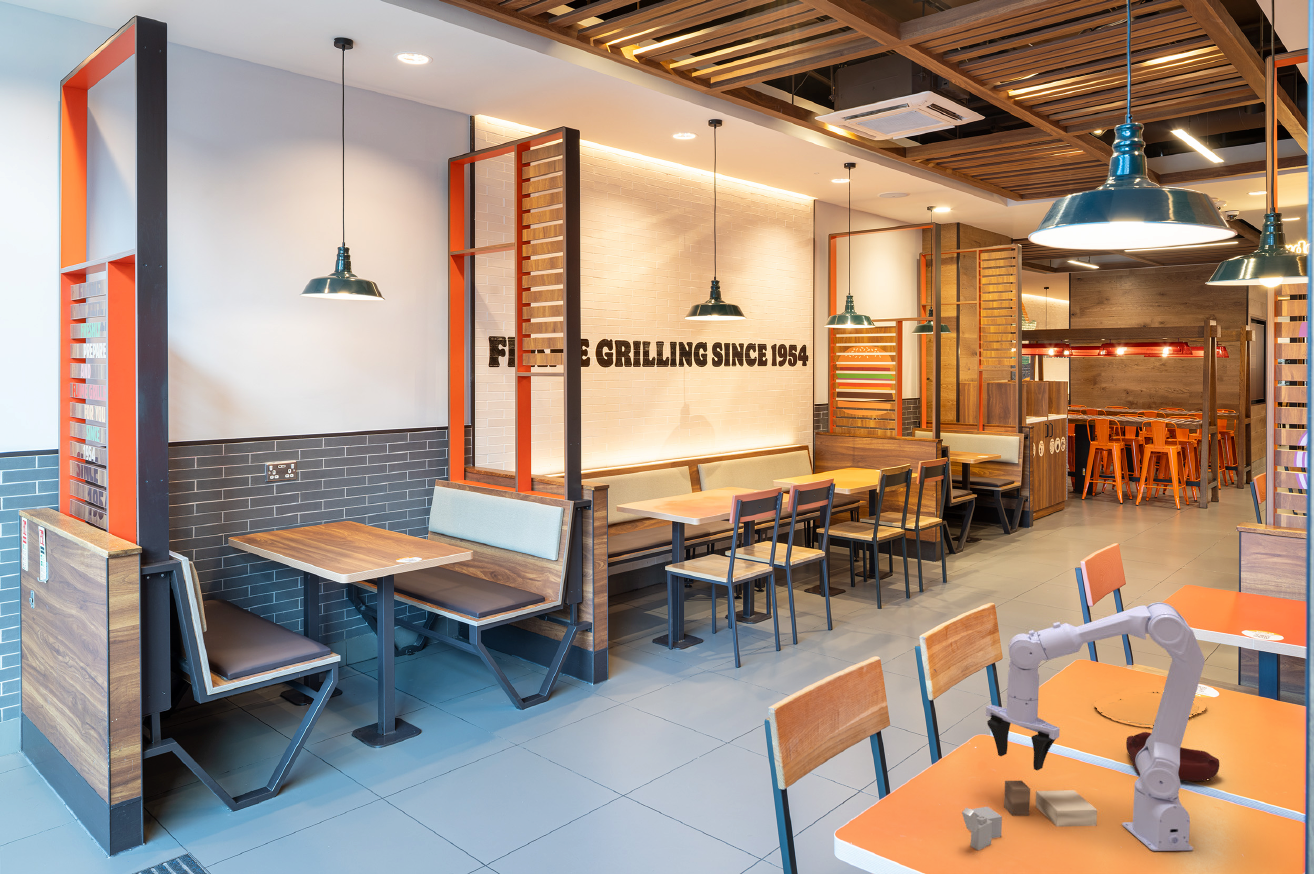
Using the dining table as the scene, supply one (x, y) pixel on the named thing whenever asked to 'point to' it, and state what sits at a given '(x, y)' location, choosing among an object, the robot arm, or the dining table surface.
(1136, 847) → the dining table surface
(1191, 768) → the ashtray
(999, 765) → the dining table surface
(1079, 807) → the birch block
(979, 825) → the lighter
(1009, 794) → the walnut block
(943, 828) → the dining table surface
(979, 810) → the grey block
